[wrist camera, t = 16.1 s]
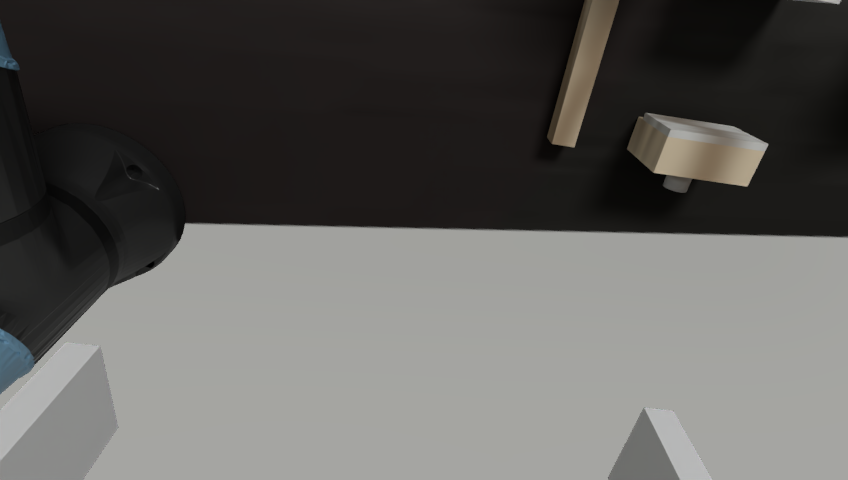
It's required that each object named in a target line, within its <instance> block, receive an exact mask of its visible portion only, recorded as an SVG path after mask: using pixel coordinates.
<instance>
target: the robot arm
mask: <svg viewBox="0 0 848 480" xmlns="http://www.w3.org/2000/svg"><path fill="white" fill-rule="evenodd" d="M17 70H20V69H19V65H18V64H17V62H16V61H15V60H14V59H13V58H12V56H11V54H10V51H9V47H8V44H7V41H6V38H5V35H4V32H3V29H2V26H1V23H0V394H1V393H2V392H3V391H4V390H6V389H7V388H8V387H9V386H10V385H11V384H12V383H13V382H15V381H16V380H17V379H18V378H20V377H22V376H24V375H25V374H27V373H29V372H30V371H31V369H32V368H33V367H34V365H35V364H36V363H37V362H38V361H39V360H40V359H41V358H42V357H43V356H44V354H45V353H46V352H47V351H48V350H49V349H50V348H51V347H52V346H53V345H54V344H55V343H56V342H57V341H58V340H59V339H60V338H61V337H62V336H63V335H64V334H65V333H66V331H68V330H69V329H70V328H71V326H72V325H73V324H74V323H75V322H76V321H77V320H78V319H79V318H80V317H81V316H82V315H83V314H84V313H85V312H86V311H87V310H88V309H89V308H90V307H91V306H92V305H93V304H94V303H95V302H96V300H97V299H98V298H99V297H100V296H101V295H102V294H103V293H104V292H105V291H106V290H107V289H108V288H110V287H112V286H114V285H117V284H119V283H122V282H124V281H127V280H129V279H131V278H133V277H135V276H138V275H141V274H143V273H146V272H148V271H150V270H151V269H153V268H154V267H156V266H157V265H159V264H160V263H161V262H162V261H163V260H164V259H165V258H166V257H167V256H168V255H169V254H170V252H172V250H173V249H174V248H175V247H176V245H177V244H178V242H179V241H180V239H181V236H182V234H183V230H184V225H185V209H184V203H183V199H182V196H181V193H180V191H179V189H178V186H177V184H176V183H175V181H174V179H173V177H172V176H171V174H170V173H169V171H168V170H167V169H166V168H165V166H164V165H163V164H162V163H161V162H160V161H159V160H158V159H157V158H156V157H155V156H154V155H153V154H152V153H151V152H150V151H149V150H147V149H146V148H145V147H144V146H142V145H141V144H139V143H138V142H136V141H135V140H133V139H131V138H130V137H128V136H126V135H124V134H122V133H119V132H117V131H114V130H112V129H109V128H106V127H102V126H98V125H92V124H81V123H75V124H65V125H60V126H57V127H54V128H51V129H49V130H46V131H44V132H42V133H39V134H37V135H35V136H33V133H32V129H31V125H30V122H29V118H28V114H27V110H26V106H25V102H24V98H23V94H22V90H21V86H20V82H19V78H18V74H17ZM117 428H118V424H117V420H116V415H115V410H114V406H113V401H112V397H111V393H110V388H109V383H108V379H107V374H106V369H105V365H104V360H103V356H102V351H101V347H100V346H95V345H87V344H78V343H69V342H66V343H65V344H64V345H63V346H62V347H61V348H60V349H59V350H58V351H57V352H56V353H55V354H54V355H53V356H52V357H51V358H50V359H49V360H48V361H47V362H46V363H45V364H44V365H43V366H42V367H41V369H39V371H37V372H36V374H35V375H34V376H33V377H32V378H31V379H30V380H29V381H28V382H27V383H26V384H25V385H24V386H23V387H22V388H21V389H20V390H19V391H18V392H17V393H16V394H15V395H14V396H13V397H12V398H11V399H10V400H9V401H8V402H7V403H6V404H5V405H4V407H2V409H1V410H0V480H83V479H84V477H85V476H86V474H87V473H88V471H89V470H90V469H91V467H92V466H93V464H94V462H95V461H96V460H97V458H98V457H99V455H100V454H101V452H102V451H103V449H104V447H105V446H106V445H107V443H108V442H109V440H110V439H111V437H112V436H113V434H114V433H115V431H116V430H117ZM608 479H609V480H712V479H711V477H710V475H709V473H708V472H707V470H706V468H705V466H704V464H703V463H702V461H701V459H700V457H699V456H698V454H697V452H696V450H695V448H694V447H693V445H692V443H691V441H690V440H689V438H688V436H687V434H686V432H685V431H684V429H683V427H682V425H681V423H680V422H679V420H678V418H677V416H676V415H675V413H674V411H671V410H663V409H654V408H645V407H644V408H643V410H642V412H641V414H640V416H639V418H638V420H637V422H636V424H635V426H634V428H633V430H632V432H631V434H630V436H629V438H628V440H627V442H626V443H625V446H624V447H623V449H622V451H621V453H620V455H619V457H618V459H617V461H616V463H615V465H614V467H613V469H612V471H611V473H610V475H609V477H608Z"/></svg>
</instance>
